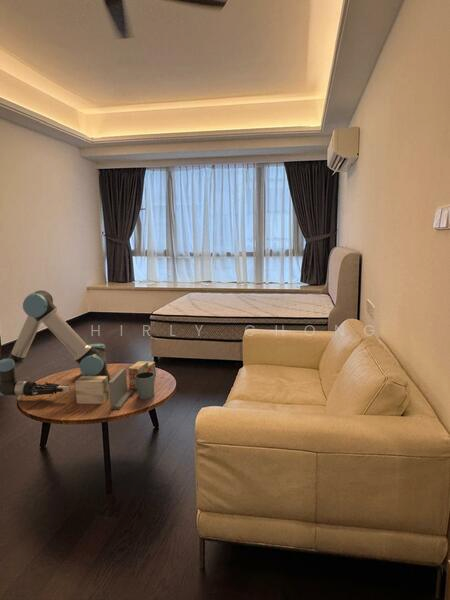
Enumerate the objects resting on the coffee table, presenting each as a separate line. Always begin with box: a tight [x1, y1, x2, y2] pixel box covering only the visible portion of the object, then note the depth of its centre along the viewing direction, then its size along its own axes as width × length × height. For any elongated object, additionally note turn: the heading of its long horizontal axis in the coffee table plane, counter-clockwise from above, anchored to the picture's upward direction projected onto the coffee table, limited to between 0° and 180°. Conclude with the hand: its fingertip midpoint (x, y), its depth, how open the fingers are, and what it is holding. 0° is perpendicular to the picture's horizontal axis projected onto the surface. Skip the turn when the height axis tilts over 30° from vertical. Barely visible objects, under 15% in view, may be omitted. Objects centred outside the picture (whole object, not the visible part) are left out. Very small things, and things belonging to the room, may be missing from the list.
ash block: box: [74, 375, 110, 405], centre depth 202 cm, size 8×14×12 cm, turn 86°
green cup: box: [135, 372, 156, 400], centre depth 206 cm, size 10×10×12 cm
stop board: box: [108, 367, 134, 410], centre depth 200 cm, size 20×5×14 cm, turn 176°
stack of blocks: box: [128, 360, 157, 390], centre depth 226 cm, size 21×6×12 cm, turn 165°
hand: (69, 389), depth 203 cm, fingers closed
